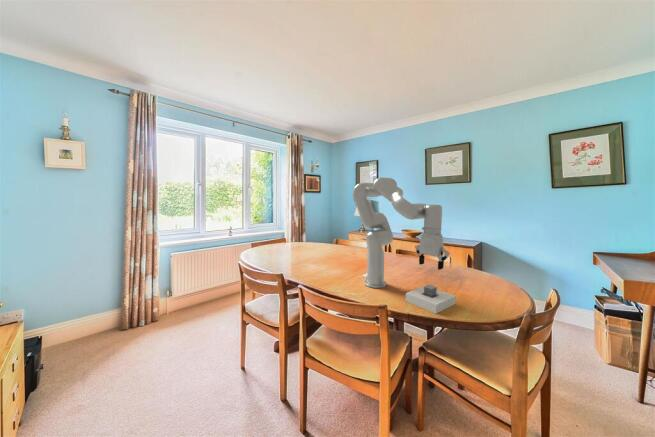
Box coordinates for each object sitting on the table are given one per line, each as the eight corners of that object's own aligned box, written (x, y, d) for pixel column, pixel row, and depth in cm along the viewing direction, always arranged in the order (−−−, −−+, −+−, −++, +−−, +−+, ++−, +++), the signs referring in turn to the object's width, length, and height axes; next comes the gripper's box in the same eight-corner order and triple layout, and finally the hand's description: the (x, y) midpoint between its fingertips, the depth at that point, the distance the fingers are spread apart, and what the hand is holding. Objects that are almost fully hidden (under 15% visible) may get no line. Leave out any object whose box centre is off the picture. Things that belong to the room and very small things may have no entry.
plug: (423, 302, 120) (424, 286, 119) (428, 300, 122) (429, 284, 122) (431, 305, 117) (431, 288, 116) (436, 303, 119) (436, 286, 118)
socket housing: (405, 300, 122) (405, 293, 121) (425, 293, 131) (425, 285, 130) (435, 313, 109) (436, 304, 108) (455, 304, 118) (455, 295, 117)
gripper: (411, 229, 121) (410, 263, 123) (445, 234, 107) (443, 272, 109) (420, 228, 126) (419, 261, 127) (454, 232, 111) (452, 269, 113)
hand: (430, 266), depth 118 cm, fingers open, 9 cm apart
